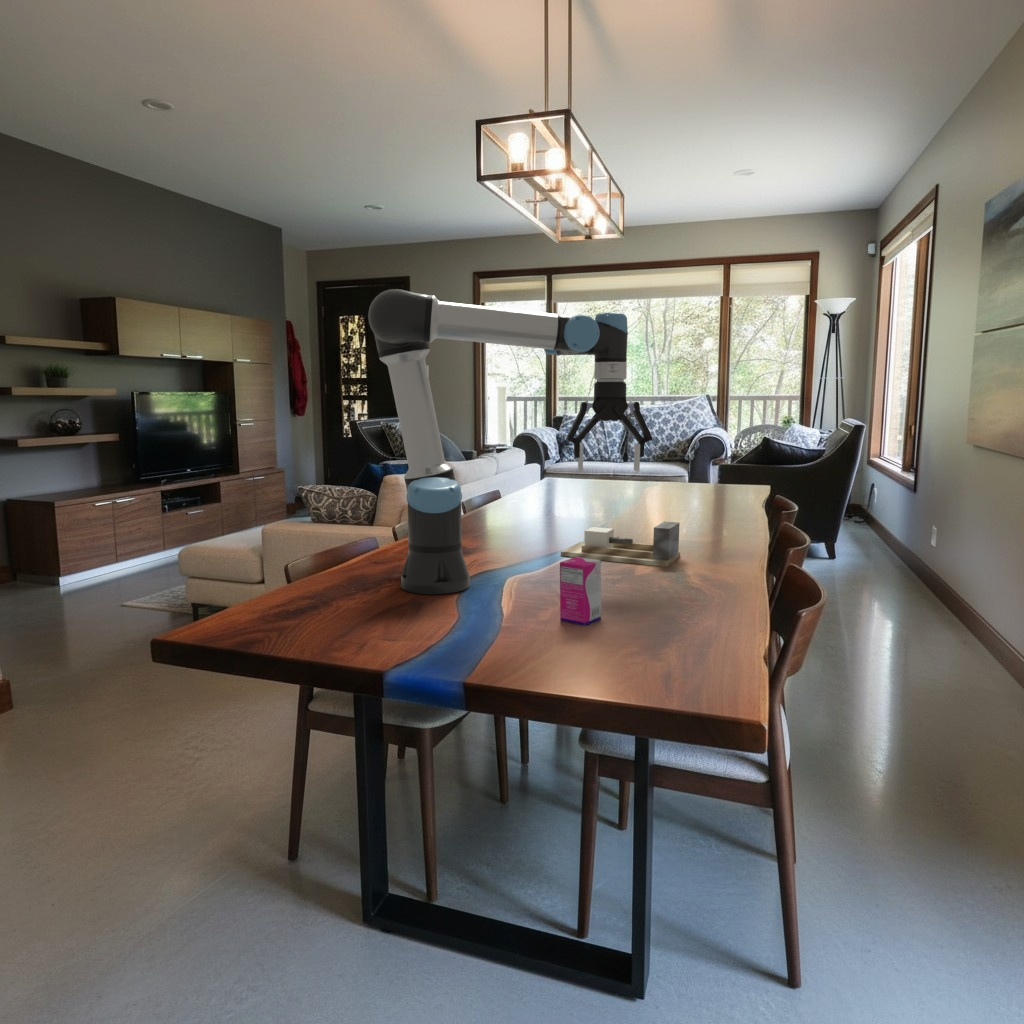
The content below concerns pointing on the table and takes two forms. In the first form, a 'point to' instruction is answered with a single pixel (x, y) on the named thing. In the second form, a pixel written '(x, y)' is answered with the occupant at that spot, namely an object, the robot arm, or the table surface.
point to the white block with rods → (603, 538)
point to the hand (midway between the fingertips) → (608, 471)
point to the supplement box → (580, 591)
